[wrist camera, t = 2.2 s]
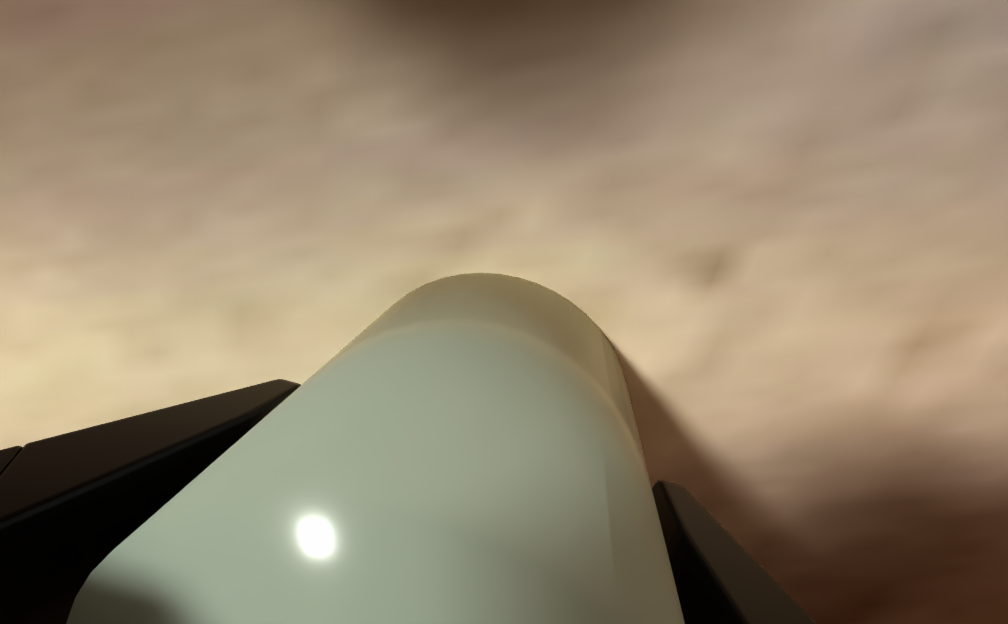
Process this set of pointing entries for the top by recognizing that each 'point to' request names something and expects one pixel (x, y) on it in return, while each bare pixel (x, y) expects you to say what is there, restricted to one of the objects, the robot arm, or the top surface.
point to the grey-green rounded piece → (419, 485)
